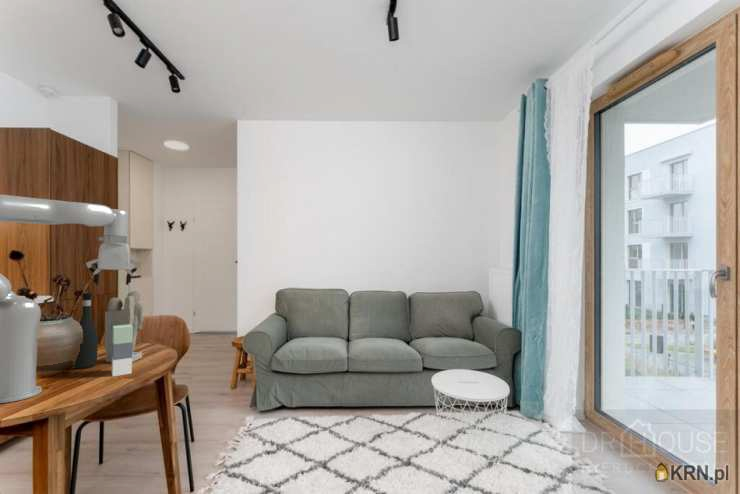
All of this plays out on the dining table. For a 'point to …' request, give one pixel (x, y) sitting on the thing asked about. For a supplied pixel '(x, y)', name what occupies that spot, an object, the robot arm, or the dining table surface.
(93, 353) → the wine bottle
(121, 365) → the cream block
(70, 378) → the dining table surface
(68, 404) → the dining table surface
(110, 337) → the sculpture
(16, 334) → the robot arm
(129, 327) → the sage block
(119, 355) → the charcoal block
